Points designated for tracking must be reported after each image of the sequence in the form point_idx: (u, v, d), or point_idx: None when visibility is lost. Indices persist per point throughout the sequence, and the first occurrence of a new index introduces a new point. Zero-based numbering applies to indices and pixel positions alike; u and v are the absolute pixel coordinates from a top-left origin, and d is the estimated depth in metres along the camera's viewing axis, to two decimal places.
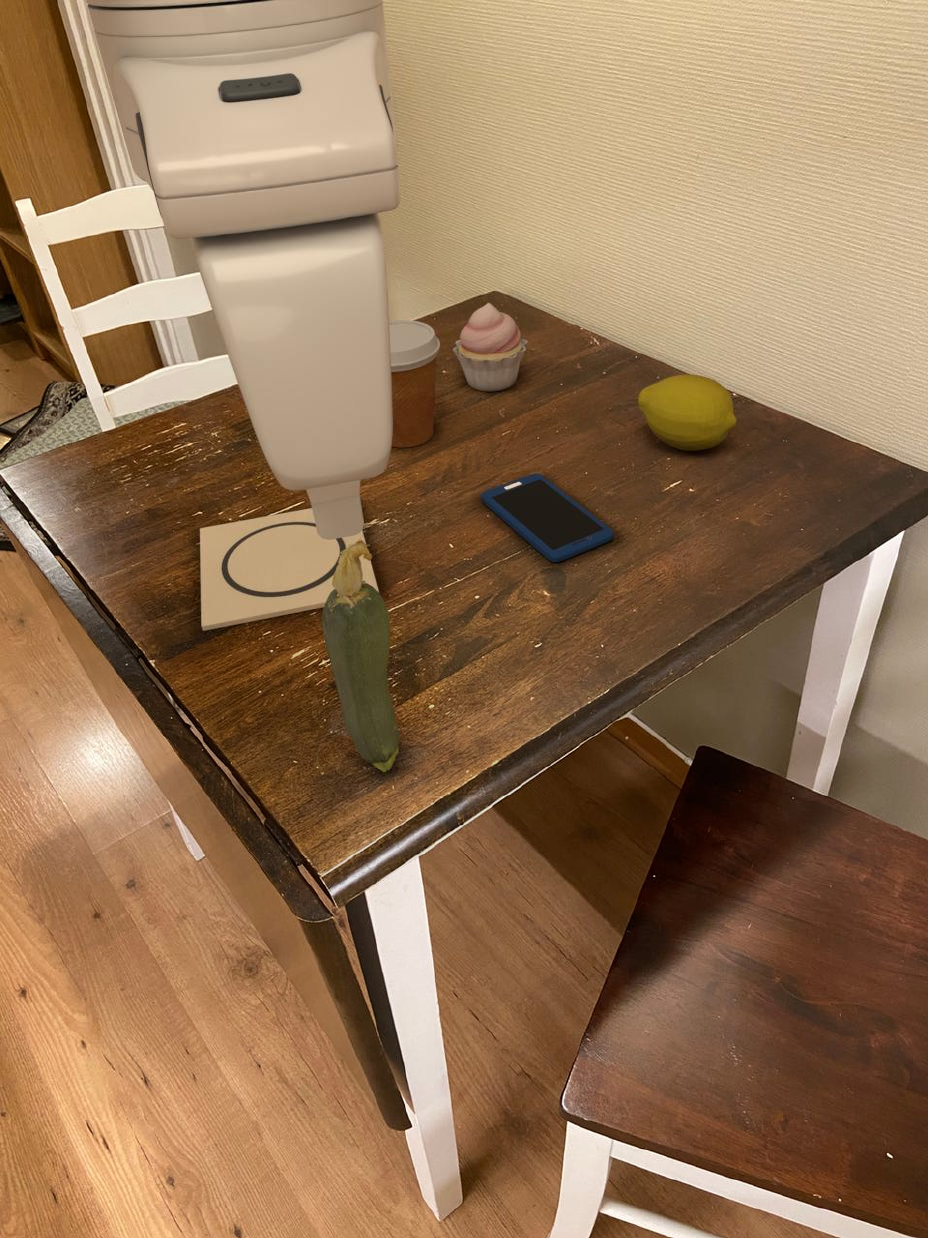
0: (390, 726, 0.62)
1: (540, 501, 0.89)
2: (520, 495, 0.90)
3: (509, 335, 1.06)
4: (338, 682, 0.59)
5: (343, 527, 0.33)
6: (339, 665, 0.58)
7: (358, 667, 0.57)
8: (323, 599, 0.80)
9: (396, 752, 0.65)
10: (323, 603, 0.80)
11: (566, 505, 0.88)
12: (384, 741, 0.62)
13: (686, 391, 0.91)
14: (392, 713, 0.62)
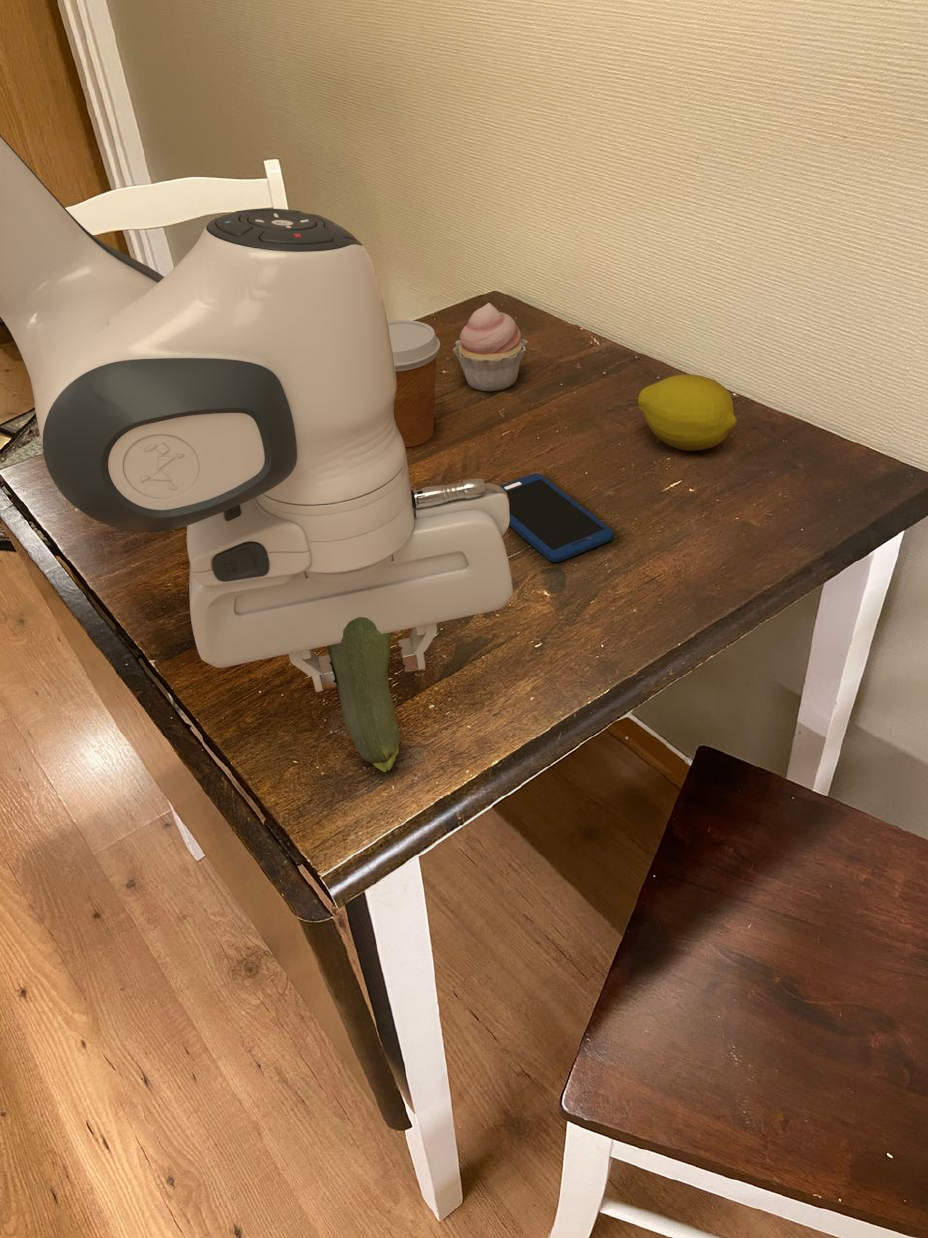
0: (391, 726, 0.62)
1: (540, 501, 0.89)
2: (520, 495, 0.90)
3: (509, 335, 1.06)
4: (339, 682, 0.59)
5: None
6: (340, 665, 0.58)
7: (359, 666, 0.57)
8: None
9: (396, 752, 0.65)
10: None
11: (566, 505, 0.88)
12: (384, 741, 0.62)
13: (686, 391, 0.91)
14: (392, 713, 0.62)
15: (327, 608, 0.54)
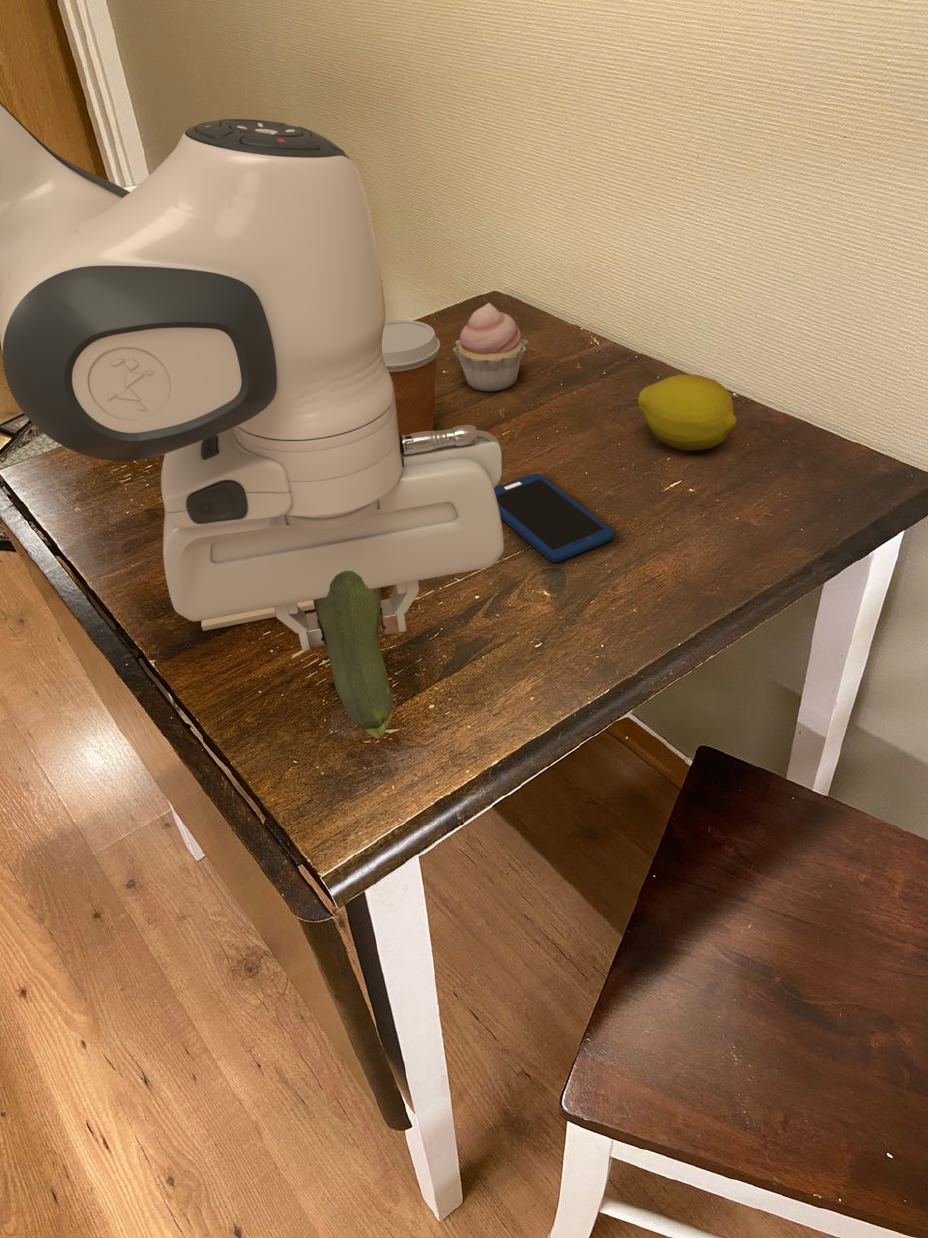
0: (383, 689, 0.60)
1: (540, 501, 0.89)
2: (520, 495, 0.90)
3: (509, 335, 1.06)
4: (327, 642, 0.57)
5: None
6: (328, 623, 0.55)
7: (347, 624, 0.55)
8: None
9: (389, 718, 0.62)
10: None
11: (566, 505, 0.88)
12: (376, 705, 0.60)
13: (686, 391, 0.91)
14: (384, 676, 0.60)
15: (308, 559, 0.51)
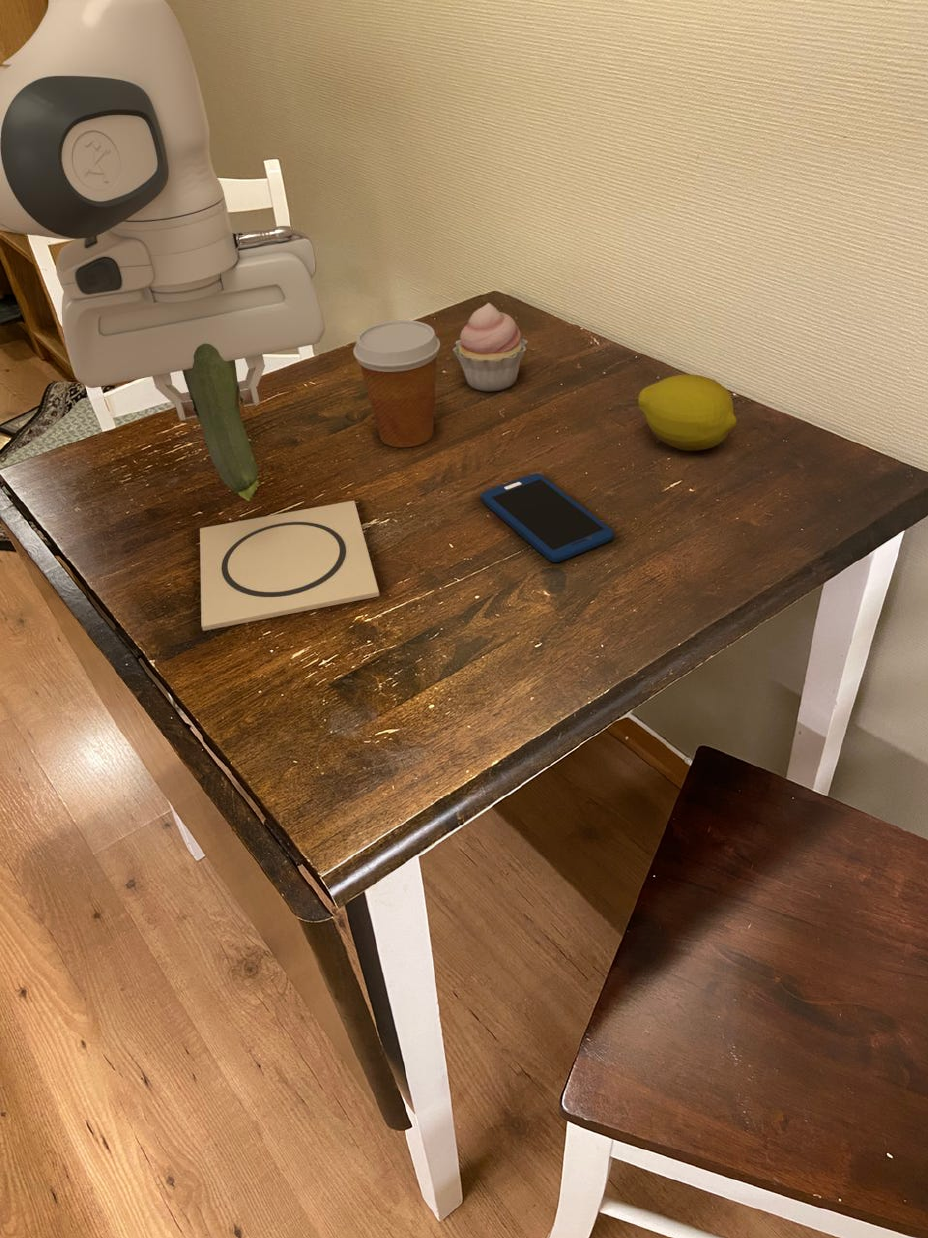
0: (247, 455, 0.78)
1: (540, 501, 0.89)
2: (520, 495, 0.90)
3: (509, 335, 1.06)
4: (198, 412, 0.75)
5: None
6: (196, 393, 0.73)
7: (211, 391, 0.73)
8: (323, 599, 0.80)
9: (256, 484, 0.80)
10: (323, 603, 0.80)
11: (566, 505, 0.88)
12: (243, 467, 0.78)
13: (686, 391, 0.91)
14: (248, 445, 0.78)
15: (174, 333, 0.69)
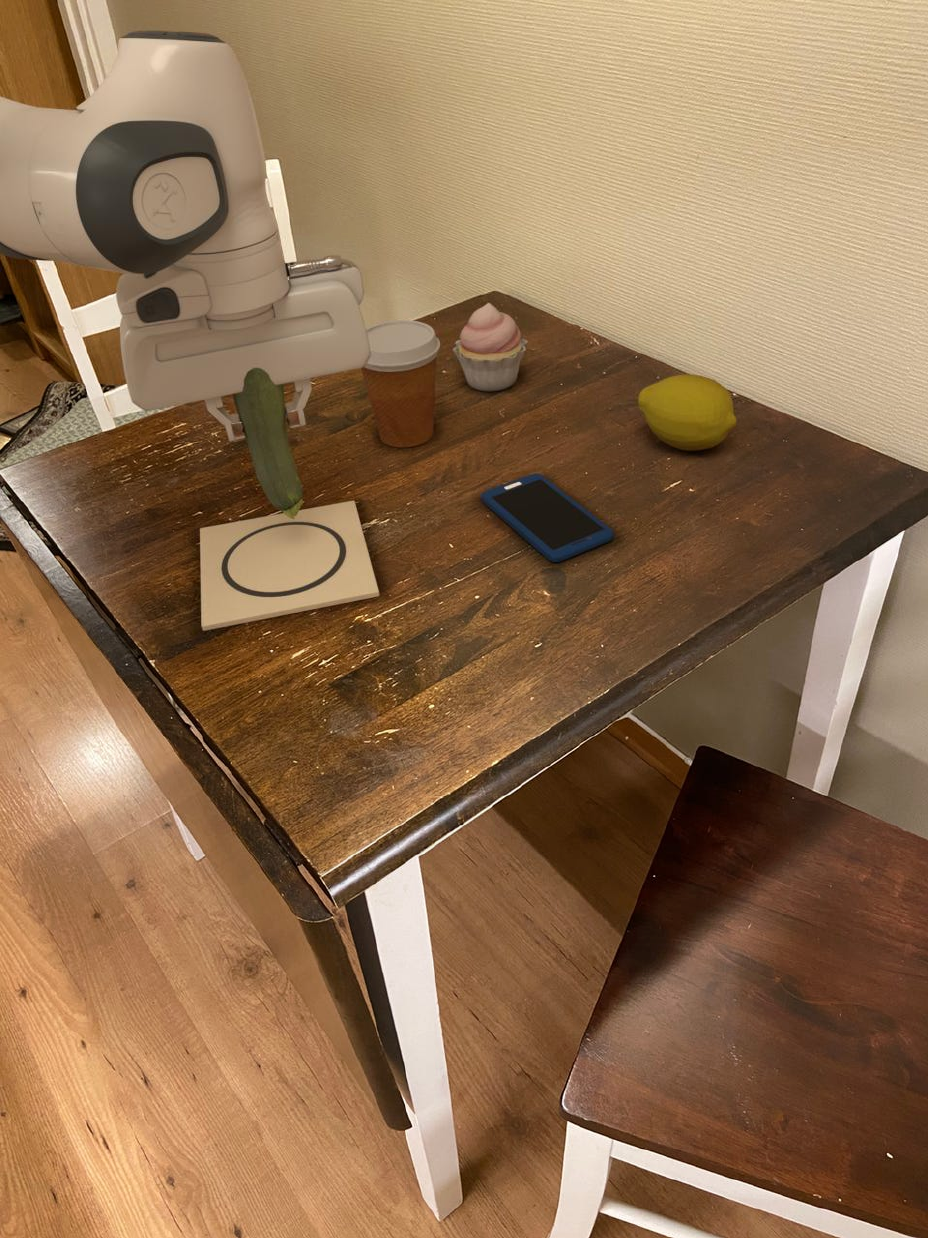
0: (293, 475, 0.80)
1: (540, 501, 0.89)
2: (520, 495, 0.90)
3: (509, 335, 1.06)
4: (247, 433, 0.77)
5: None
6: (246, 415, 0.75)
7: (260, 414, 0.75)
8: (323, 599, 0.80)
9: (300, 502, 0.82)
10: (323, 603, 0.80)
11: (566, 505, 0.88)
12: (288, 487, 0.80)
13: (686, 391, 0.91)
14: (293, 465, 0.80)
15: (227, 358, 0.71)
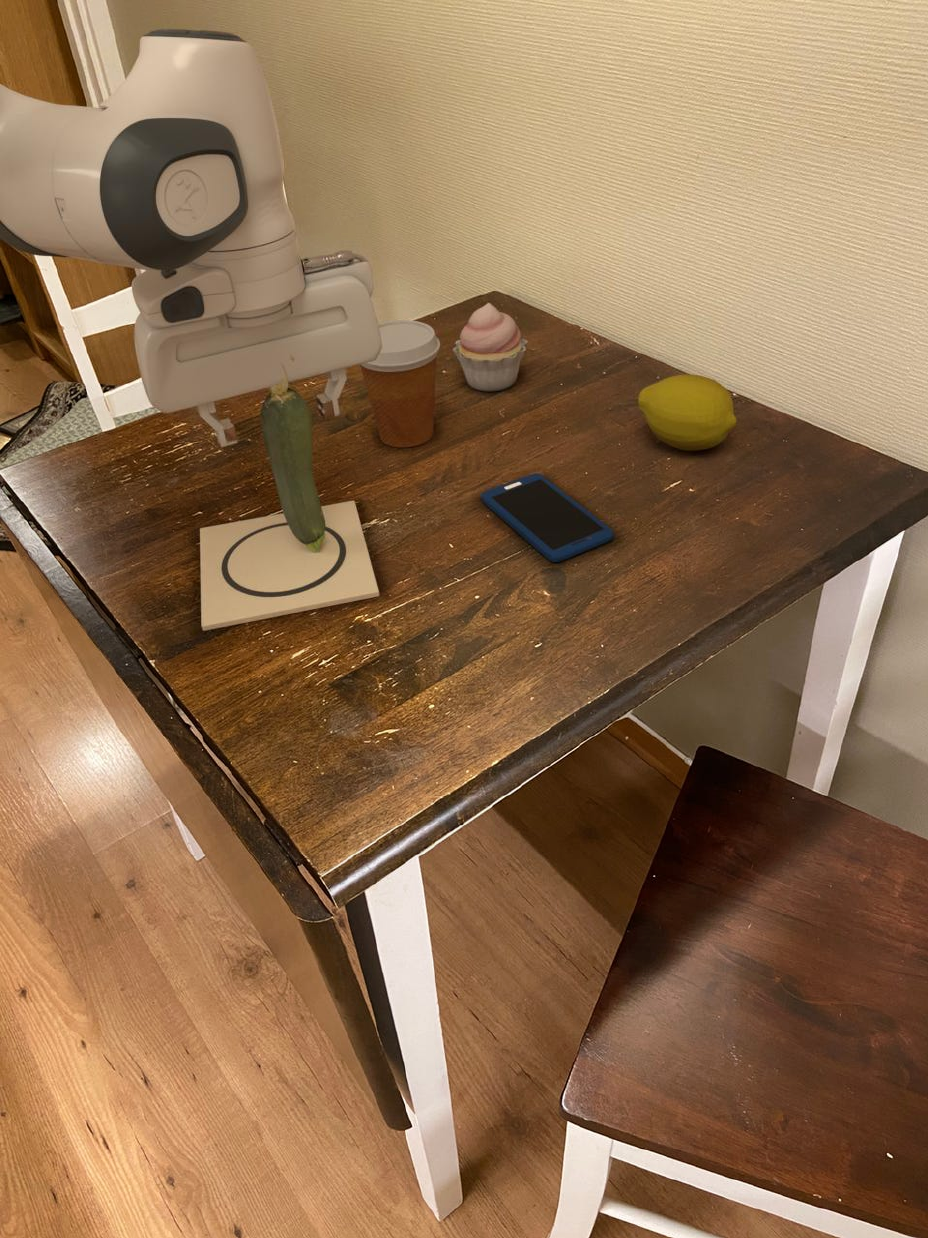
0: (317, 510, 0.83)
1: (540, 501, 0.89)
2: (520, 495, 0.90)
3: (509, 335, 1.06)
4: (275, 471, 0.79)
5: (219, 440, 0.77)
6: (275, 454, 0.78)
7: (289, 454, 0.78)
8: (323, 599, 0.80)
9: (323, 536, 0.85)
10: (323, 603, 0.80)
11: (566, 505, 0.88)
12: (313, 522, 0.83)
13: (686, 391, 0.91)
14: (318, 501, 0.83)
15: (246, 356, 0.72)
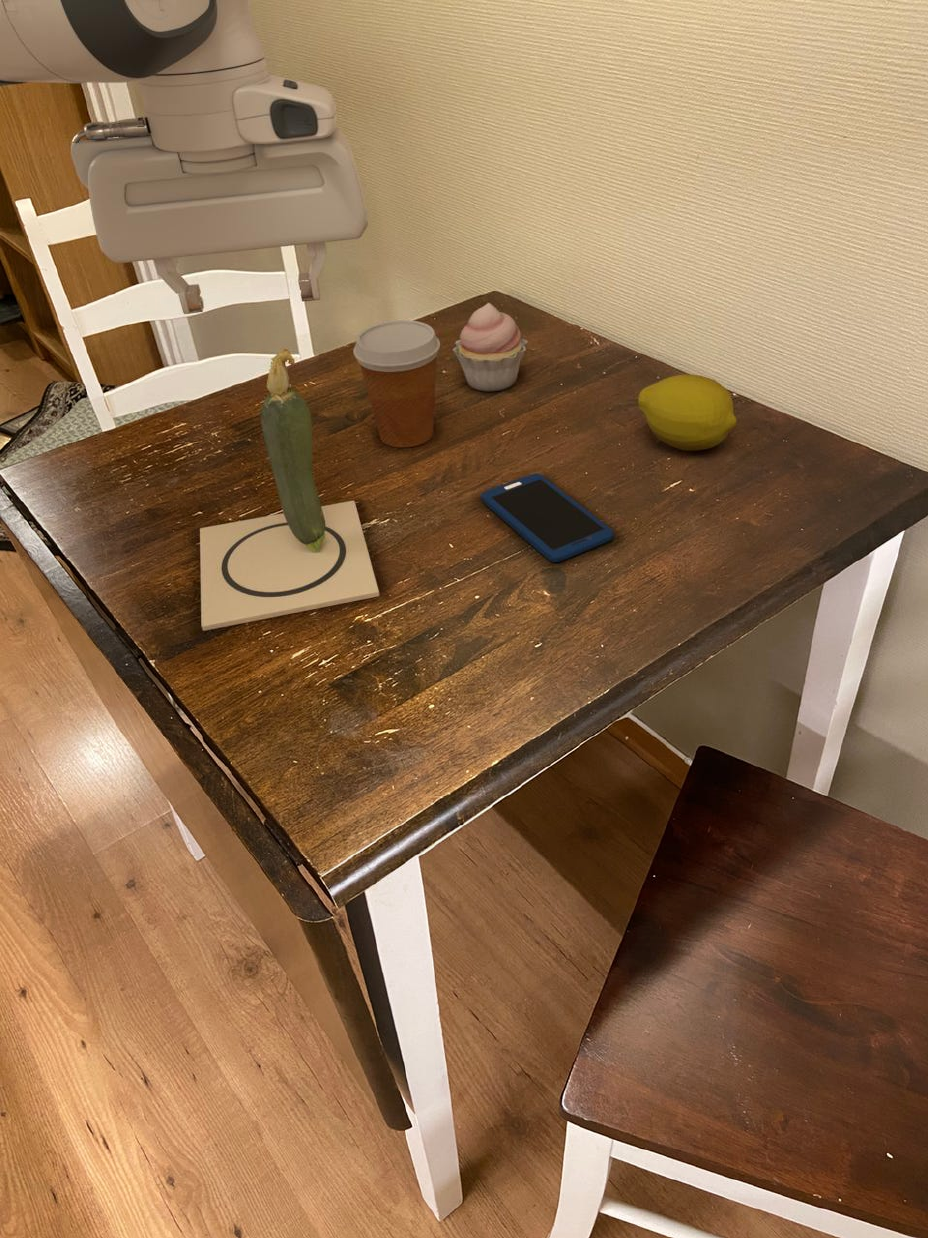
0: (317, 510, 0.83)
1: (540, 501, 0.89)
2: (520, 495, 0.90)
3: (509, 335, 1.06)
4: (275, 471, 0.79)
5: (319, 291, 0.71)
6: (275, 454, 0.78)
7: (289, 454, 0.78)
8: (323, 599, 0.80)
9: (323, 536, 0.85)
10: (323, 603, 0.80)
11: (566, 505, 0.88)
12: (313, 522, 0.83)
13: (686, 391, 0.91)
14: (318, 501, 0.83)
15: None
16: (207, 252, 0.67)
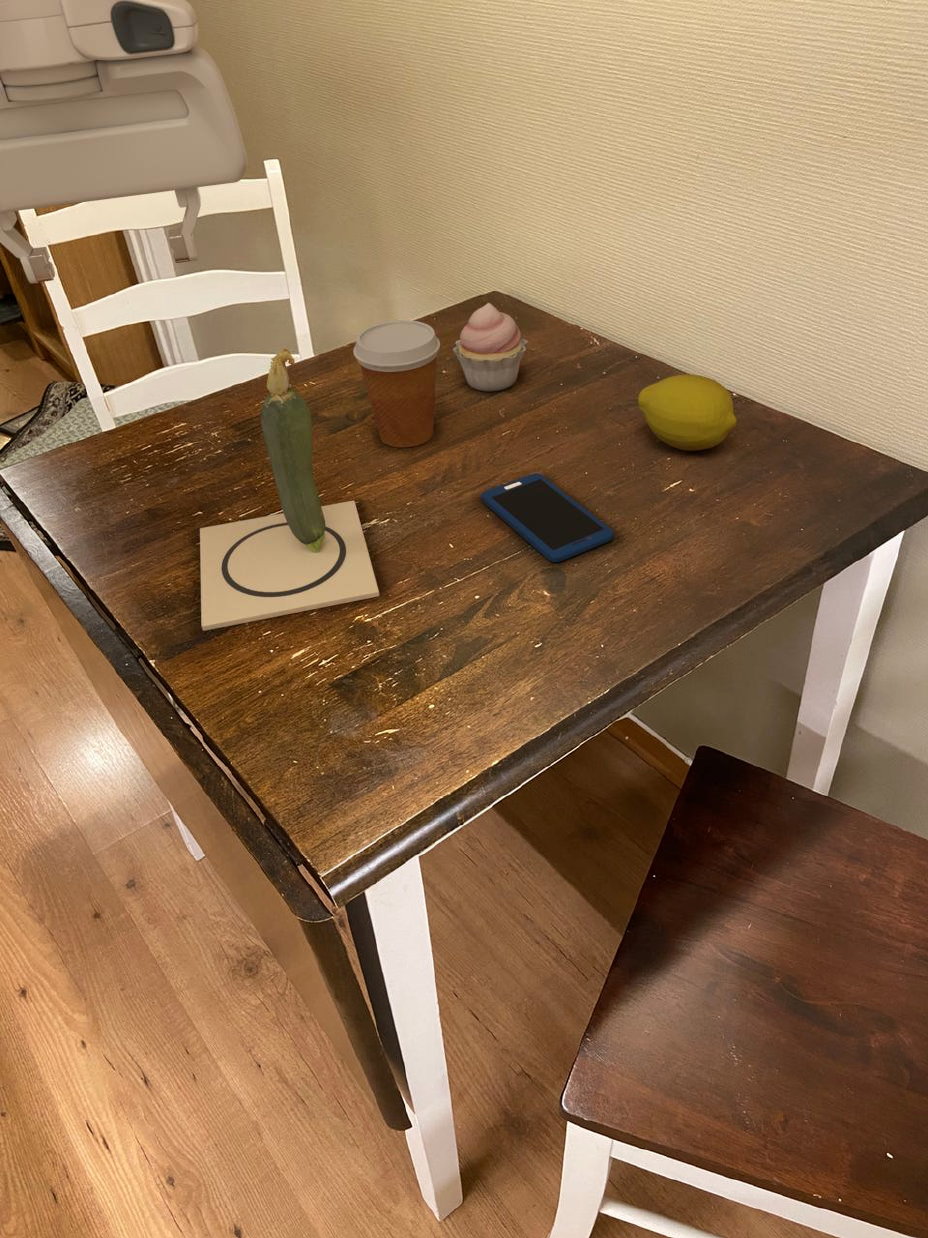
0: (317, 510, 0.83)
1: (540, 501, 0.89)
2: (520, 495, 0.90)
3: (509, 335, 1.06)
4: (275, 471, 0.79)
5: (195, 250, 0.60)
6: (275, 454, 0.78)
7: (289, 454, 0.78)
8: (323, 599, 0.80)
9: (323, 536, 0.85)
10: (323, 603, 0.80)
11: (566, 505, 0.88)
12: (313, 522, 0.83)
13: (686, 391, 0.91)
14: (318, 501, 0.83)
15: None
16: (50, 203, 0.54)
